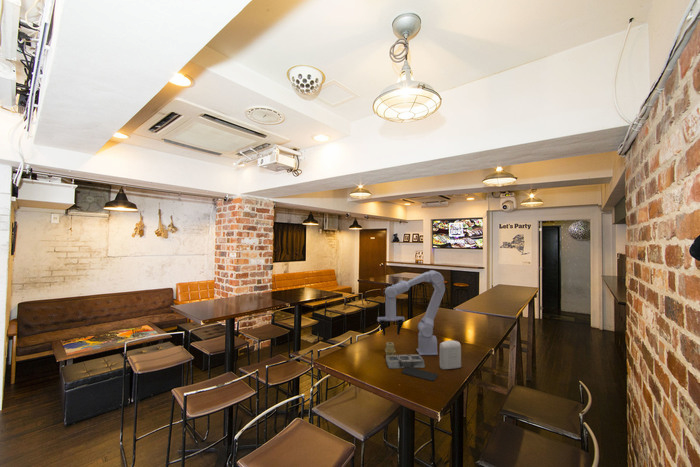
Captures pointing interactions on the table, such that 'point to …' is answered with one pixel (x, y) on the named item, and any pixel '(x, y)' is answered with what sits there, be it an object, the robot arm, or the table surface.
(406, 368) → the phone
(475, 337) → the table surface
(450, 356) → the photo printer
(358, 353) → the table surface
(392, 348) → the tan block with hole
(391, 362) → the slotted metal bracket
